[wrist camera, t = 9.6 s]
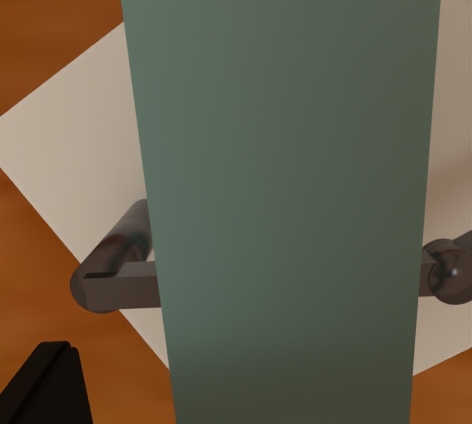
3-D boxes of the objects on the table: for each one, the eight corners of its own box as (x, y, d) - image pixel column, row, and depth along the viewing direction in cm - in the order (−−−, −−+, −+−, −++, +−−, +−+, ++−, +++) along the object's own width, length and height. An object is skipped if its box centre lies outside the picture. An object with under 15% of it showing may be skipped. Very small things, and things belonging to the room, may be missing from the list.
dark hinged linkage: (644, 35, 19) (923, 9, 11) (649, 142, 21) (901, 188, 13) (123, 204, 22) (53, 278, 14) (159, 287, 24) (113, 396, 16)
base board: (549, -295, 17) (576, -329, 15) (722, 200, 23) (754, 208, 21) (-8, 132, 23) (-26, 136, 21) (243, 439, 29) (243, 458, 27)
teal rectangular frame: (324, 36, 19) (530, -59, 5) (324, 342, 24) (429, 726, 10) (191, 45, 20) (38, -21, 5) (217, 346, 25) (174, 725, 10)
